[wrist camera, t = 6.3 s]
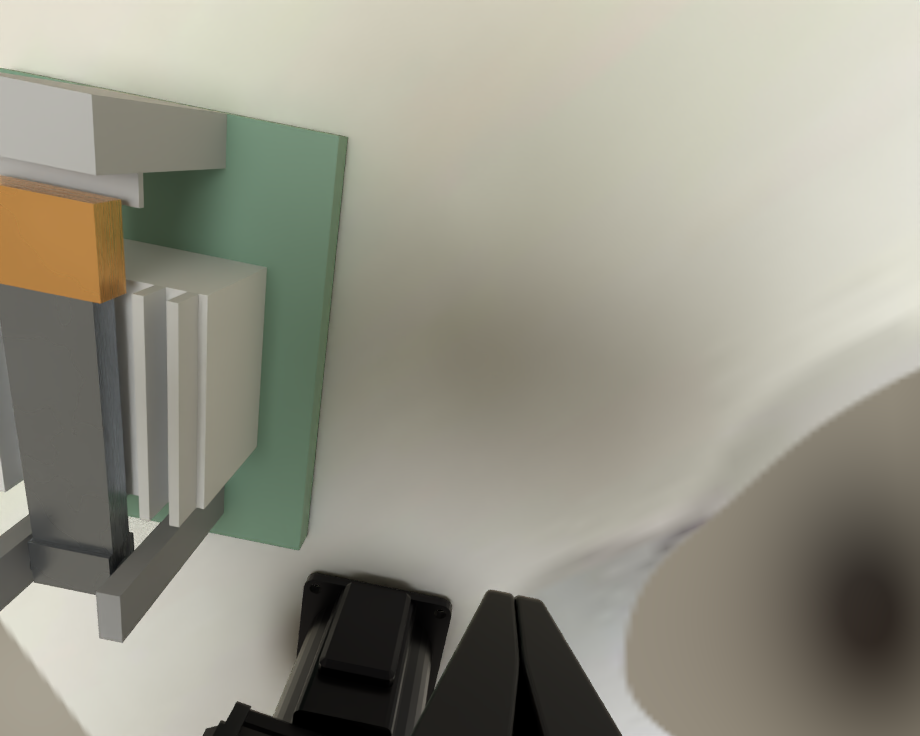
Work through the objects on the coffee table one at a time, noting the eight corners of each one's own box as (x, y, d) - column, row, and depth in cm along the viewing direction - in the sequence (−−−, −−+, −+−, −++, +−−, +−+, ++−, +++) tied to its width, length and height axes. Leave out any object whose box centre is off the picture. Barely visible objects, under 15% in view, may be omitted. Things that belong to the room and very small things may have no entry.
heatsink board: (307, 535, 24) (227, 690, 17) (55, 483, 24) (-127, 618, 17) (347, 136, 18) (249, 127, 11) (14, 70, 18) (-290, 18, 11)
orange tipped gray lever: (145, 572, 19) (122, 600, 17) (51, 553, 19) (22, 579, 17) (126, 198, 14) (93, 203, 13) (0, 173, 14) (-45, 175, 13)
